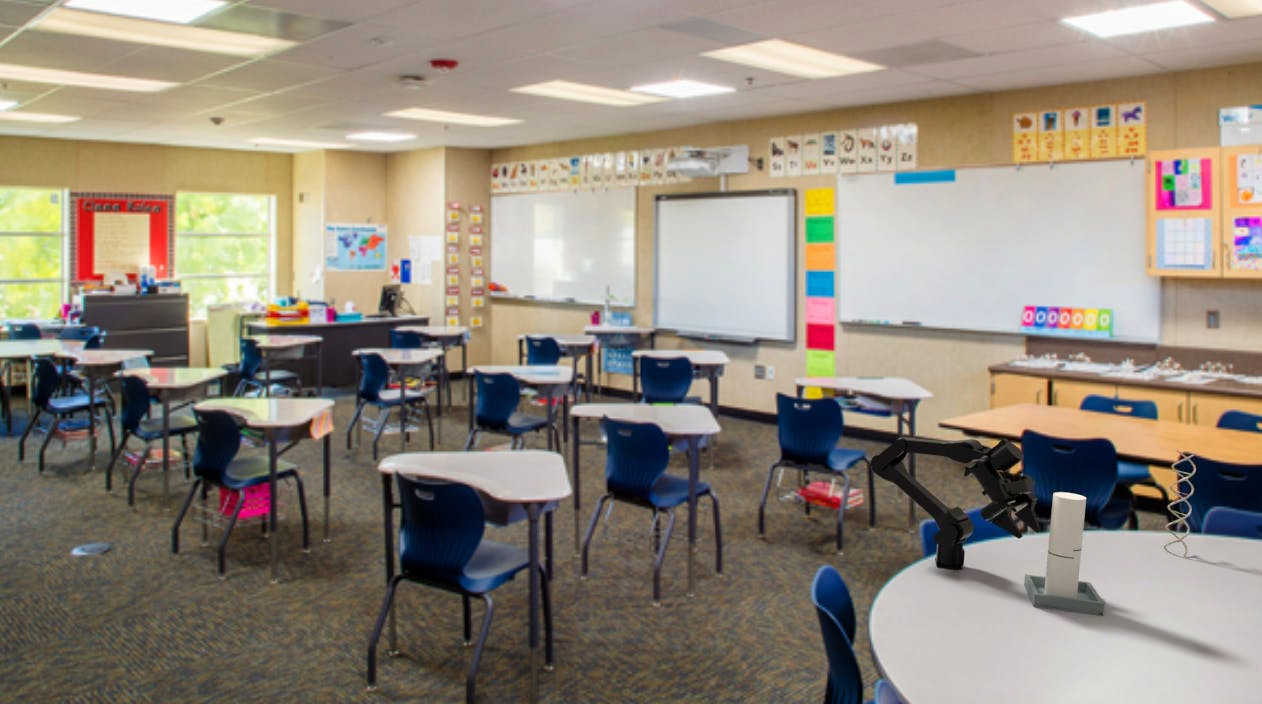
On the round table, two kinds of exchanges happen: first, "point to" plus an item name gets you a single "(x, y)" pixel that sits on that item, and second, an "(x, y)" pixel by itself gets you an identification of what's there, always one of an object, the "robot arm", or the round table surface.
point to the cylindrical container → (1065, 544)
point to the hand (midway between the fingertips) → (1029, 534)
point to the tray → (1084, 603)
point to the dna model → (1180, 501)
